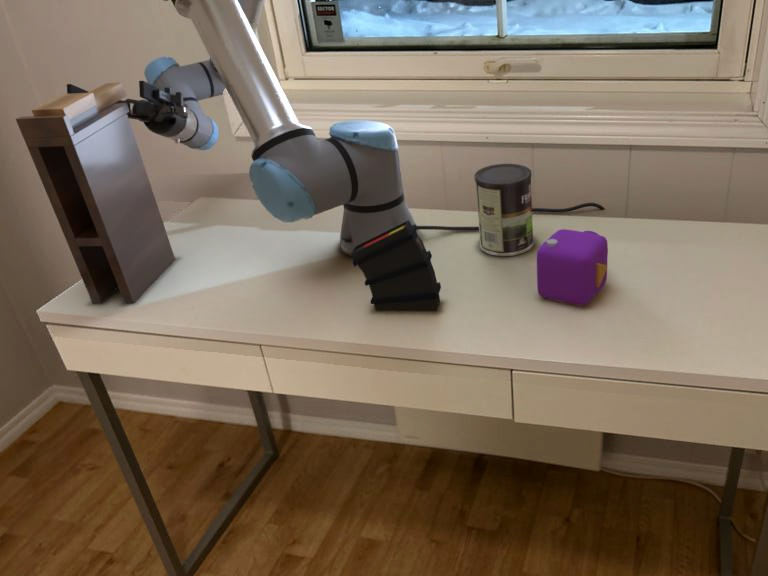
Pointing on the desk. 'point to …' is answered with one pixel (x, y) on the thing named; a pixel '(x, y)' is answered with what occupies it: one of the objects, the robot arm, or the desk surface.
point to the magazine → (398, 270)
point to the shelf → (101, 200)
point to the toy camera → (572, 266)
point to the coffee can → (504, 209)
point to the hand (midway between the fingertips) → (104, 90)
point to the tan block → (82, 103)
